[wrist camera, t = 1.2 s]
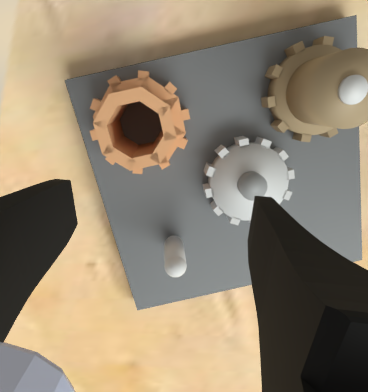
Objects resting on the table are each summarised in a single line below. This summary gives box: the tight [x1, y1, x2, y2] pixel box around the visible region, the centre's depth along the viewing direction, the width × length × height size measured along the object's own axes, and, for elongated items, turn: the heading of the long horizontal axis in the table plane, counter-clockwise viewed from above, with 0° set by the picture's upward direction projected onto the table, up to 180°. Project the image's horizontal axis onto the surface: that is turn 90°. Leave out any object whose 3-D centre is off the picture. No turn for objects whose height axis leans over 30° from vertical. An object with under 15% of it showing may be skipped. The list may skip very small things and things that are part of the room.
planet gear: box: [90, 70, 190, 174], centre depth 20 cm, size 7×7×6 cm
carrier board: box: [65, 15, 368, 310], centre depth 22 cm, size 21×20×7 cm
